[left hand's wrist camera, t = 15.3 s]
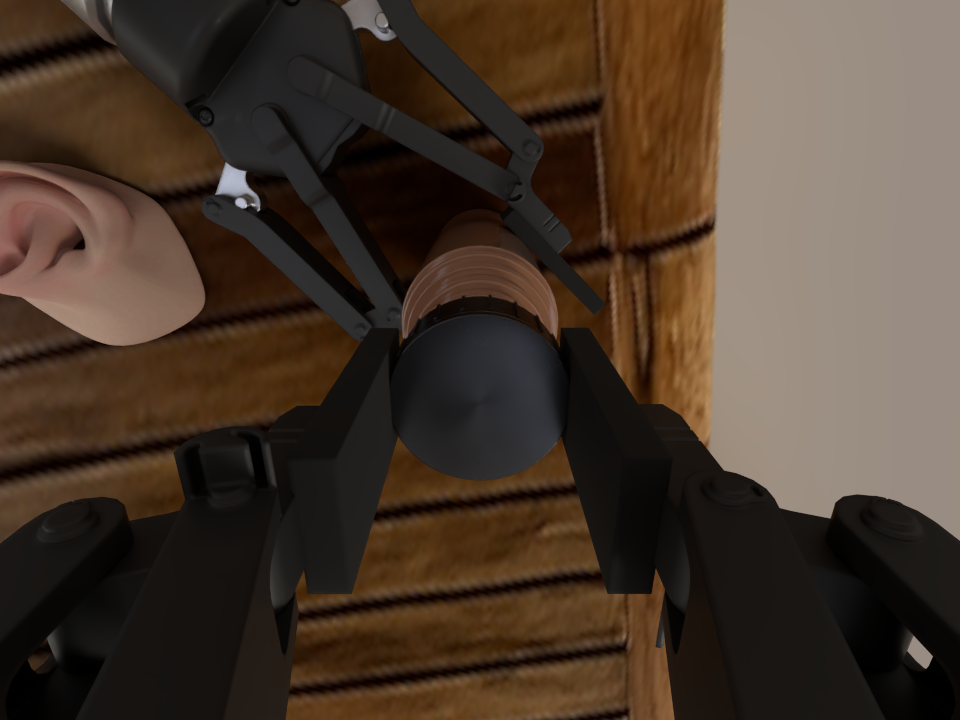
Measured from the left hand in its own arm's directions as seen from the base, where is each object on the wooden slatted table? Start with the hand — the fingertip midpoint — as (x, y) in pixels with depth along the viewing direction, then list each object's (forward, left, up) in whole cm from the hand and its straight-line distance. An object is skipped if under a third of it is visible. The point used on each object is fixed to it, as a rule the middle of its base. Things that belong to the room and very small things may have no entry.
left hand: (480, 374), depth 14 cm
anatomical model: (-24, +5, -19) cm, 31 cm away
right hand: (+3, -4, -13) cm, 14 cm away
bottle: (0, 0, -19) cm, 19 cm away
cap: (0, 0, +2) cm, 2 cm away
